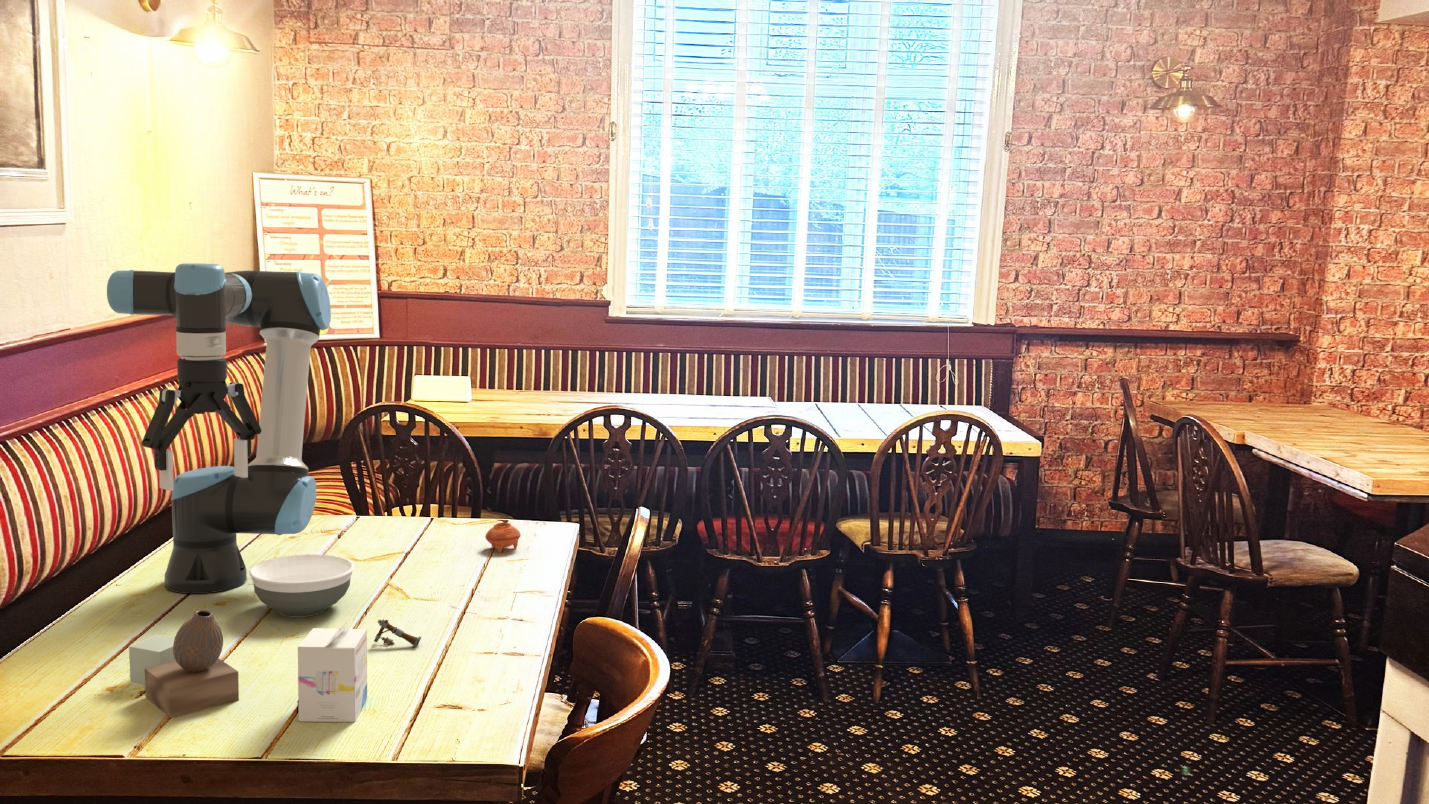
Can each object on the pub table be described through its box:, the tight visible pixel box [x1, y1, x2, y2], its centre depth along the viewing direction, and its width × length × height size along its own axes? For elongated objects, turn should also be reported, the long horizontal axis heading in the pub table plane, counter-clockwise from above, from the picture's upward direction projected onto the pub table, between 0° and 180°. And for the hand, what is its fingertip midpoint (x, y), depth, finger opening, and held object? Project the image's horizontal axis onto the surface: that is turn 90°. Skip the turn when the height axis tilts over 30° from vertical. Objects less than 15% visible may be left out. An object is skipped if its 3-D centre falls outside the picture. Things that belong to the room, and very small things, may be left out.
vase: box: [173, 609, 224, 672], centre depth 173 cm, size 7×7×9 cm
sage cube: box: [128, 634, 176, 686], centre depth 181 cm, size 6×6×6 cm
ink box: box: [297, 618, 368, 723], centre depth 171 cm, size 9×8×13 cm
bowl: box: [249, 554, 355, 618], centre depth 216 cm, size 19×19×8 cm
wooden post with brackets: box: [373, 619, 422, 649], centre depth 200 cm, size 2×8×4 cm, turn 84°
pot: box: [485, 521, 522, 554], centre depth 262 cm, size 8×8×7 cm
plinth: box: [144, 657, 240, 719], centre depth 174 cm, size 10×10×5 cm
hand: (205, 482), depth 192 cm, fingers open, 13 cm apart
